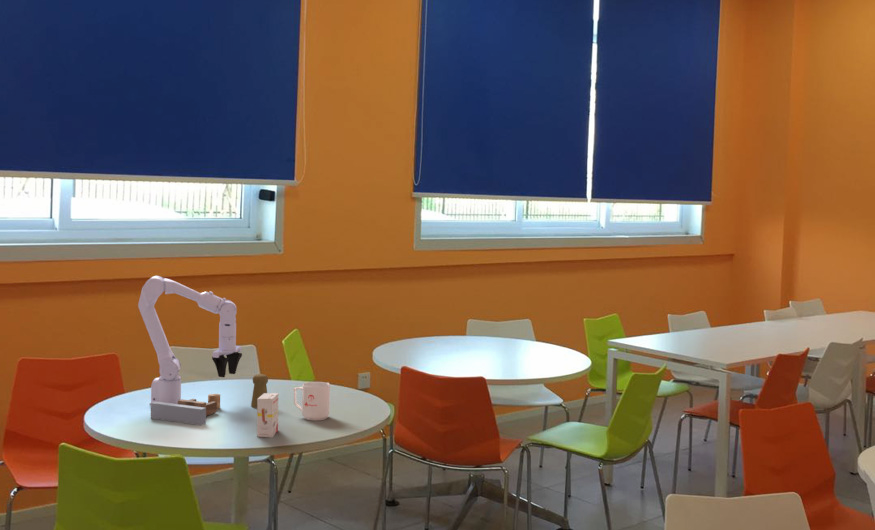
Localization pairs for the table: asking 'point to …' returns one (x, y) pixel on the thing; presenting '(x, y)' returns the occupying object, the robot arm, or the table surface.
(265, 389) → the cork
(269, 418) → the ink box
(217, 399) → the oak dowel
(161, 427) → the table surface
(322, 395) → the mug
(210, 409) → the walnut cradle
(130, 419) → the table surface
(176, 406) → the wall
